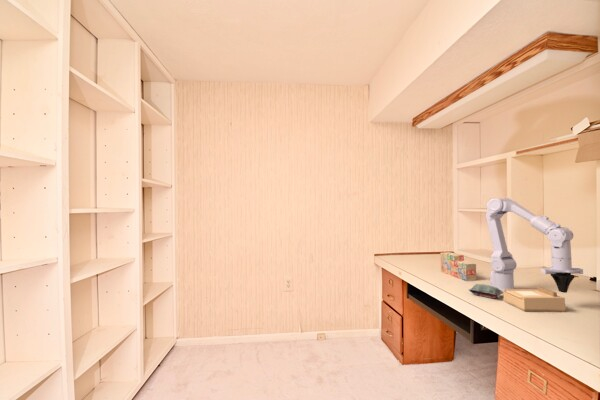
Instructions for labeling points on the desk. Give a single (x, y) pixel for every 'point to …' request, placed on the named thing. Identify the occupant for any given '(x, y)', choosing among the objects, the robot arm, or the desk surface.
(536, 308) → the light brown rectangular box
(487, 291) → the packaged food
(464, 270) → the stack of blocks
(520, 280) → the desk surface
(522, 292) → the lid
